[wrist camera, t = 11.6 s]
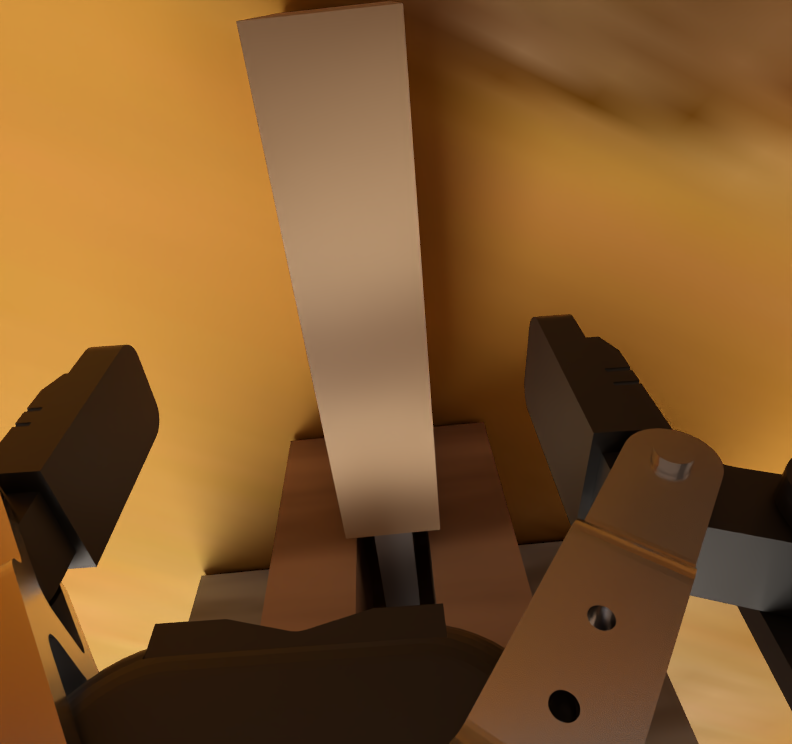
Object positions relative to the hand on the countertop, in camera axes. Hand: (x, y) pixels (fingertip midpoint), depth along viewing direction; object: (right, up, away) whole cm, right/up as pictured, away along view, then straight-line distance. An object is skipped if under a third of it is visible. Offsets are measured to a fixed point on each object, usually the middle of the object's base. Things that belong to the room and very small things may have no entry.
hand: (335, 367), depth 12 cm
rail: (0, +2, +8) cm, 9 cm away
